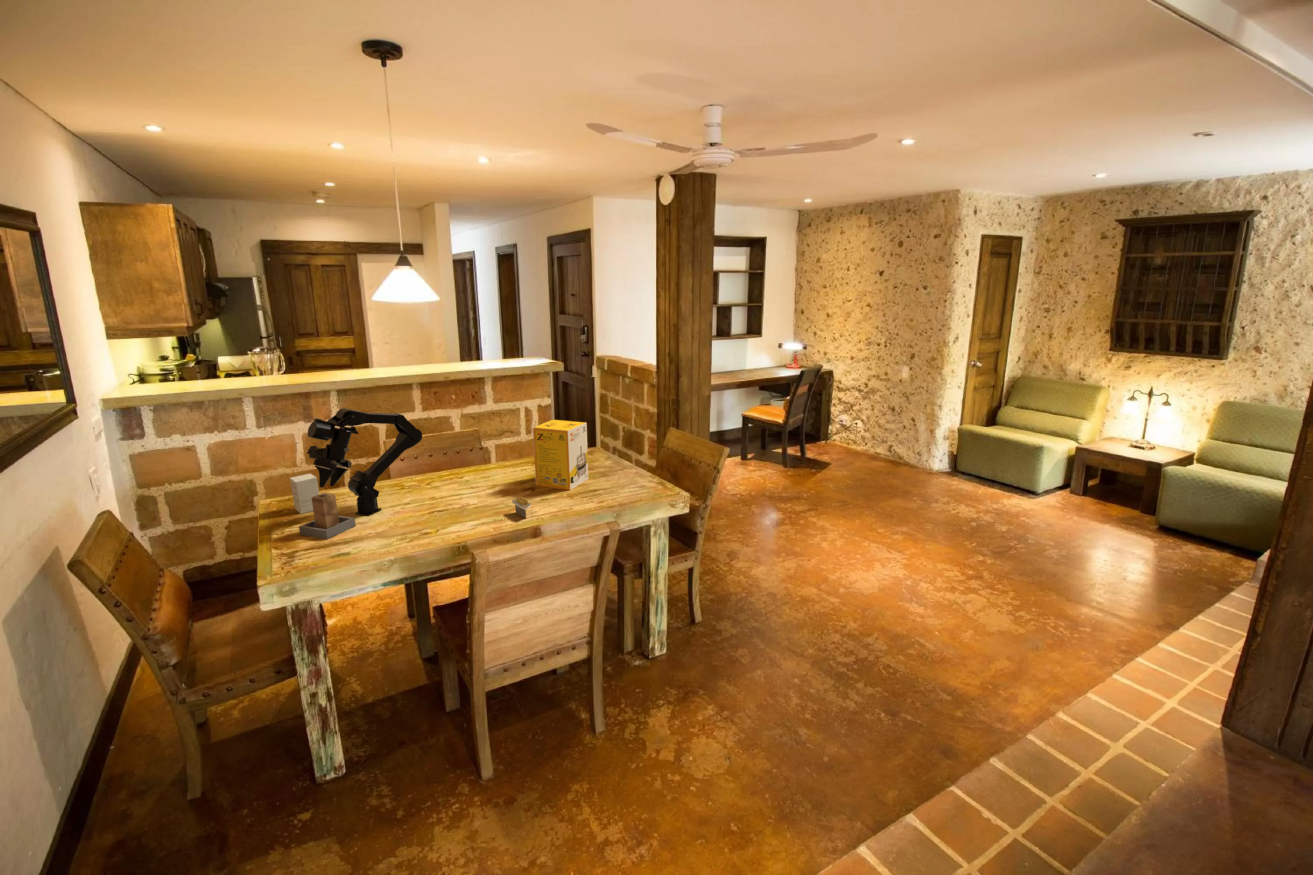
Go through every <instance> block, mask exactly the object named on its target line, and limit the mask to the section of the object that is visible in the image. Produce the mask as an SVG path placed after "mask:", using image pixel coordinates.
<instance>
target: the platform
mask: <svg viewBox="0 0 1313 875" xmlns="http://www.w3.org/2000/svg"><path fill="white" fill-rule="evenodd" d="M511 503H512V504H514V507H515V514H517V515H519V516H521V517H522V518H524V519H525V520H527V511H526V510H528V509H529V508H531V507H532V503H529V502H528V500H527V499H526V498H525V497H522V496H516V497H515V499H512V500H511Z"/></svg>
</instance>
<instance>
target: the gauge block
mask: <svg viewBox="0 0 1313 875" xmlns="http://www.w3.org/2000/svg"><path fill="white" fill-rule="evenodd" d="M311 498H312V505H313V511H312V512H313V516H314V520H315V524H316V528H320V529H326V530H327V529H329V528H331V527H333V526H335V525H338V524H339V518H338V516H339V512H338V506H337V505H338V504H337V500H336V499H337V498H336V494H335V493H331V492H322V493H319V495H316V496H314V497H311Z"/></svg>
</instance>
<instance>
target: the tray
mask: <svg viewBox="0 0 1313 875" xmlns="http://www.w3.org/2000/svg"><path fill="white" fill-rule="evenodd" d="M338 518H339V524H338V525H335V526H333V527H331V528H329V529H327V530H326V529H320V528H316V524H315V519H313V520H311V521H307V523H304V524H301V525H298V530H299V535H300V536H303V537H304V536H305V537H311V538H317V539H322V540H329V539H332V538H333V537H337V536H339V535H341V534H342V533H344V532H347V531H348V530H350V529H354V528H355V527H357V525H356V524H357V523H356V518H355V517H352V516H351V517H350V516H344V515H343V516H342V515H338Z"/></svg>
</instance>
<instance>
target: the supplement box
mask: <svg viewBox="0 0 1313 875" xmlns="http://www.w3.org/2000/svg"><path fill="white" fill-rule="evenodd" d="M289 482H290V487H291V492H292V499H293V505H294V506H293V507H294V509H295V510H296V511H297V512H298V513H300V514H301V515H302V514H307V513H311V512H314V511H313V505H312V498H311V497H314V496H316V495H319V494H320V491H319V490H320V489H319V483H318V478H317V477H316V476H315V475H313V474H312V473H306V474H302V475H296V476H293V477H289Z"/></svg>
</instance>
